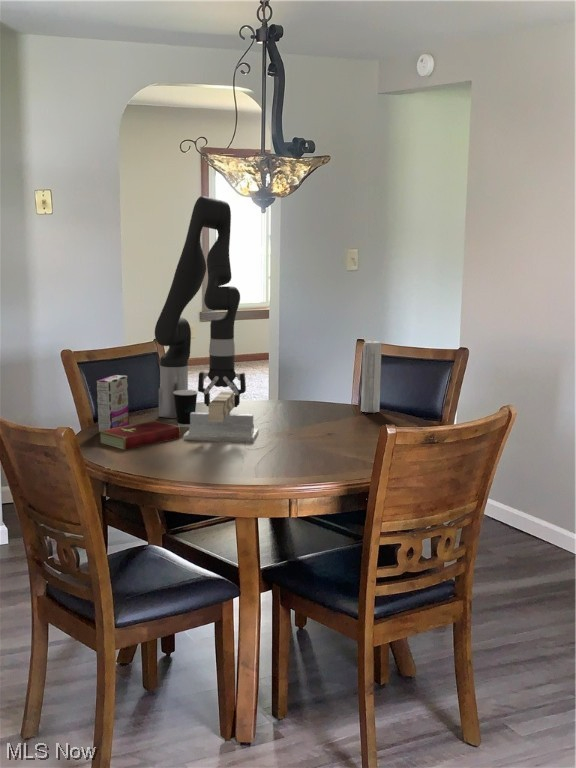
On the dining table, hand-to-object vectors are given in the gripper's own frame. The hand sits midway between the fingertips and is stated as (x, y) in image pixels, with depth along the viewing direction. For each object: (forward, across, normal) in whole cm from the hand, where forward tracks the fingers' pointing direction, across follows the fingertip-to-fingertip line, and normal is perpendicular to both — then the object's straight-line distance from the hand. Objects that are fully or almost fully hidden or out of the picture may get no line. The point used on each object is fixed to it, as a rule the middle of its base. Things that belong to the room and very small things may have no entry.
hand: (221, 406), depth 255 cm
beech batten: (+2, 0, 0) cm, 2 cm away
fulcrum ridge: (+9, 0, 0) cm, 9 cm away
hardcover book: (+10, +23, +8) cm, 27 cm away
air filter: (+10, -45, -45) cm, 64 cm away
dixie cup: (+10, +14, -13) cm, 21 cm away
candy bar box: (+10, +35, -4) cm, 37 cm away
